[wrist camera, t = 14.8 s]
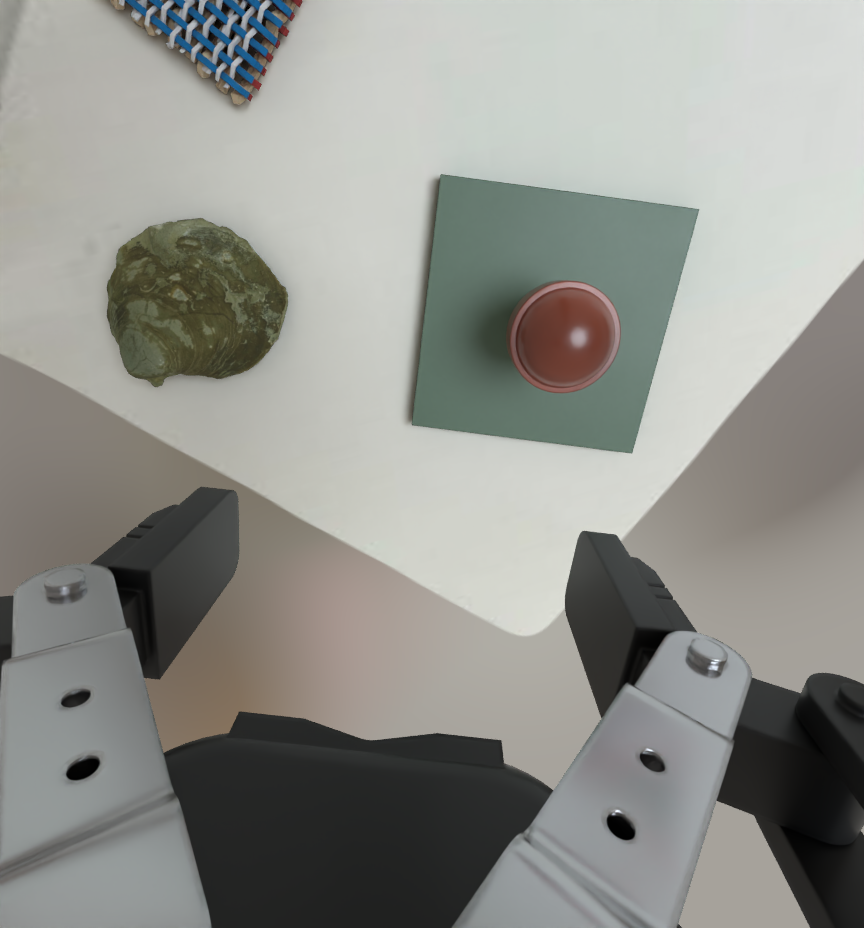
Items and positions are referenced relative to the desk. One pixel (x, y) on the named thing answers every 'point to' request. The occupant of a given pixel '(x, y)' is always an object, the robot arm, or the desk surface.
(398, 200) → the desk surface
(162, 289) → the seashell
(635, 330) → the sage board
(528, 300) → the wooden mushroom
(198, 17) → the woven mat
